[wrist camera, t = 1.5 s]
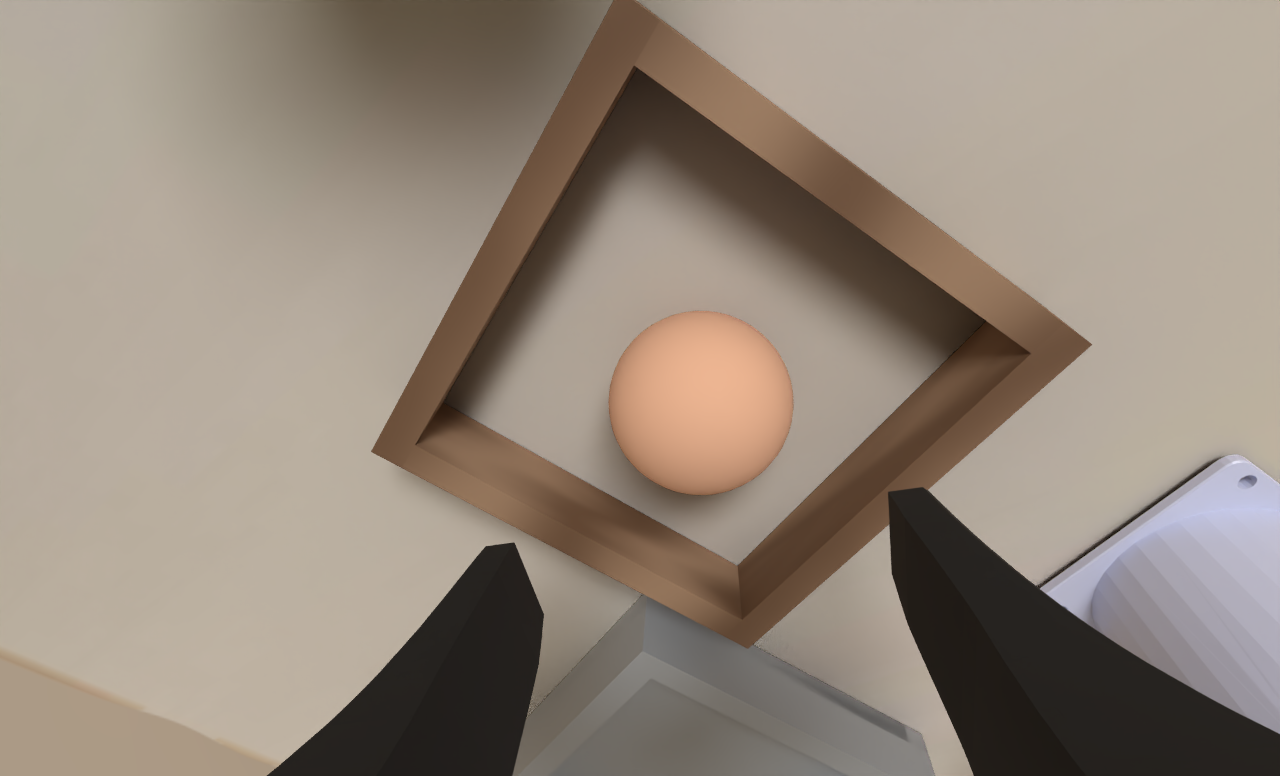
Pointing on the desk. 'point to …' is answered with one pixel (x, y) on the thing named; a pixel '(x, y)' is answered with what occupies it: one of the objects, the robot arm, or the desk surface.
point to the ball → (701, 402)
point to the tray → (704, 712)
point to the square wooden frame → (841, 505)
